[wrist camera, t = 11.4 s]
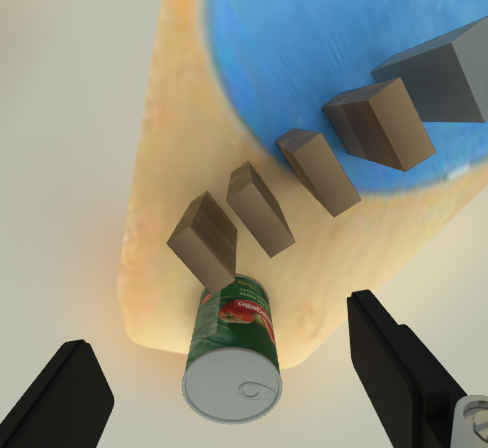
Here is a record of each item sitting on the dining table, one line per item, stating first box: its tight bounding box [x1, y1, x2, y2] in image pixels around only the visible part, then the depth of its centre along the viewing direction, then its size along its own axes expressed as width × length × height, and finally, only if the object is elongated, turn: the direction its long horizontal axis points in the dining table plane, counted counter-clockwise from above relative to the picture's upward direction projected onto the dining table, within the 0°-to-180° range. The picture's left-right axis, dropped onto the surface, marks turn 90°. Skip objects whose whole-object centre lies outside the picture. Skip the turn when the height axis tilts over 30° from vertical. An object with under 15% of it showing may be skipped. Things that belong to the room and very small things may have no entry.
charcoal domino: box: [371, 16, 488, 123], centre depth 20 cm, size 2×5×10 cm, turn 36°
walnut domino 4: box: [321, 77, 436, 172], centre depth 21 cm, size 2×5×10 cm, turn 36°
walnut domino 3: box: [275, 128, 361, 217], centre depth 22 cm, size 2×5×10 cm, turn 36°
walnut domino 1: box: [166, 191, 237, 295], centre depth 24 cm, size 2×5×10 cm, turn 36°
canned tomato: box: [182, 274, 282, 424], centre depth 28 cm, size 8×8×11 cm
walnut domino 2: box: [227, 161, 295, 258], centre depth 23 cm, size 2×5×10 cm, turn 36°
